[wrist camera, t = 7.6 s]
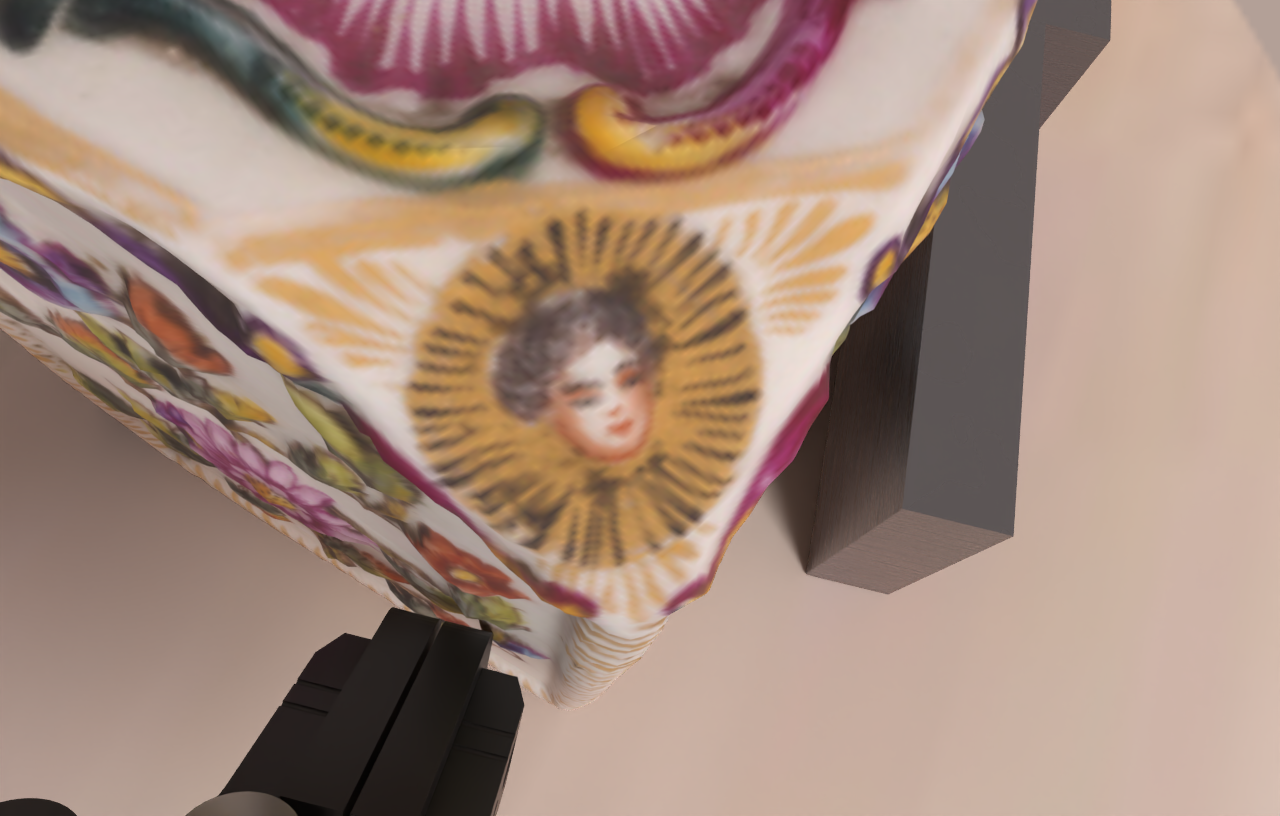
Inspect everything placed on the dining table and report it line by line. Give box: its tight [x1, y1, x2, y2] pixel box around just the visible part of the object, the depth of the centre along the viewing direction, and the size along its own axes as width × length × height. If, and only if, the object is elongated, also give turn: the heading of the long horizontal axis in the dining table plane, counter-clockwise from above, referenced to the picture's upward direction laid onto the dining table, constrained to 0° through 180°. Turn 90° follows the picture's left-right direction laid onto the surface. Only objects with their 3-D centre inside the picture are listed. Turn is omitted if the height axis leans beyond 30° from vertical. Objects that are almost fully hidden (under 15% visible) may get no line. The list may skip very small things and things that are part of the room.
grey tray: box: [806, 0, 1111, 594], centre depth 21 cm, size 15×22×7 cm
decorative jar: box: [0, 0, 1038, 711], centre depth 14 cm, size 12×12×18 cm
